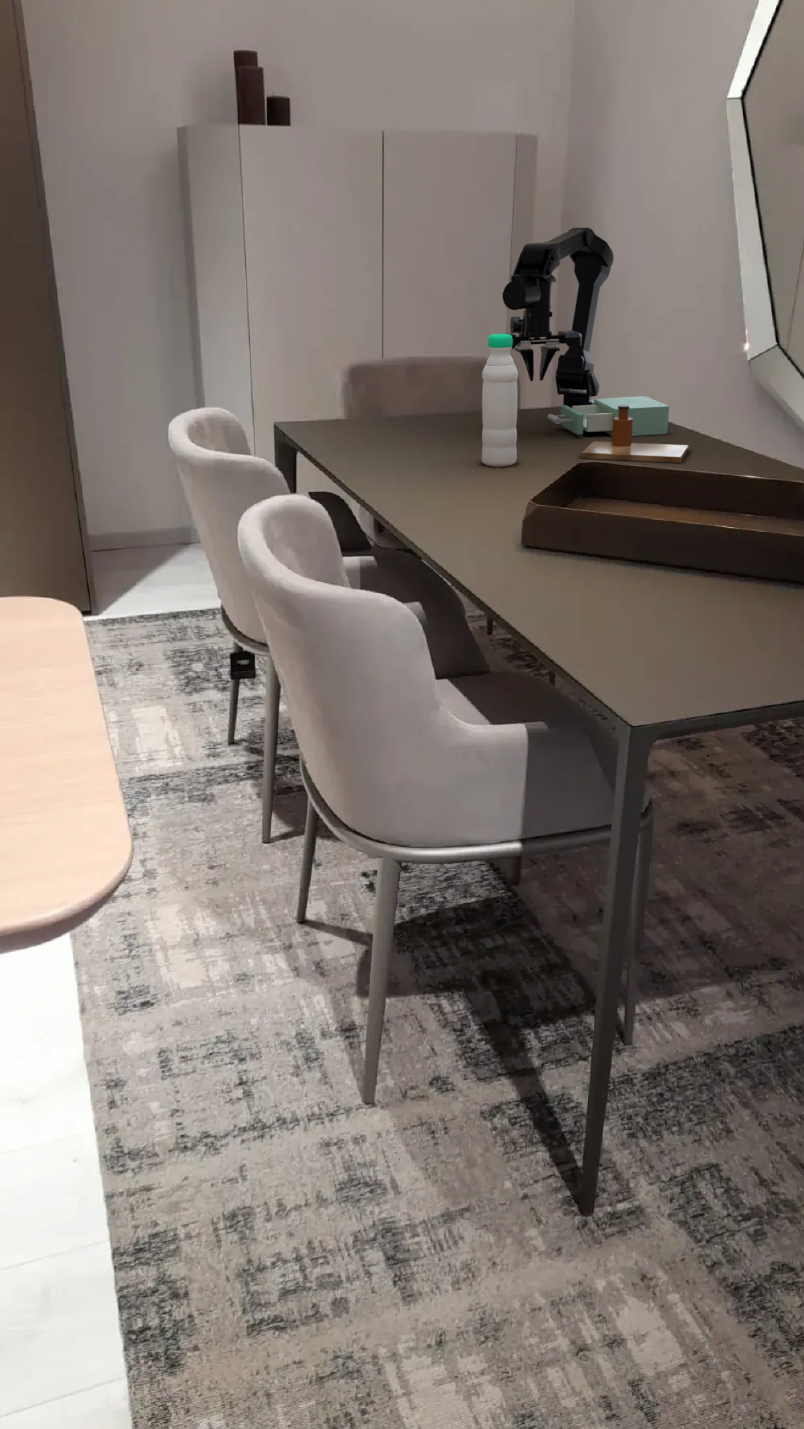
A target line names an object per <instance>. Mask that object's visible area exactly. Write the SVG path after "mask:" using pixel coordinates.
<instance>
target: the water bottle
mask: <svg viewBox="0 0 804 1429" xmlns="http://www.w3.org/2000/svg"><path fill="white" fill-rule="evenodd" d="M512 343H513V339H512V336H511V335H509V334H506V333H494V334H490V335H489V336H488V339H487V345H488V350H489V352H490V353H489V356H488V358H487V359H486V364H485V365H484V368H483V370H482V372H481V373H482V374H481V378H482V394H481V417H482V431H481V442H482V450H481V462H482V463H483V465H485V466H488V467H492V468H493V467H494V468H500V467H501V468H502V467H510V466H513V465H514V464H515V463H517V460H518V459H517V458H518V455H517V454H518V452H517V440H518V431H517V421H518V378H519V371H518V368H517V366H516V364H515V361H514V358H513V357H512V355H511V350H513V349H512Z"/></svg>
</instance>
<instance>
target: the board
mask: <svg viewBox="0 0 804 1429" xmlns="http://www.w3.org/2000/svg"><path fill="white" fill-rule="evenodd" d="M688 452H689V445H687V444H666V443H665V444H663V443H646V442H645V443H644V442H641V443H640V442H631V445H630V446H625V447H619V446H613V445H612V441H599V440H598V441H597V440H596V441H595V440H594V441H592V442H591V443H590V444H589V445H588V446H587V447H586V448H585V449H584V450H583V451H582V452H581V459H589V460H591V459H592V460H610V461H612V460H613V461H630V462H631V461H632V462H633V461H634V462H652V463H653V462H654V463H669V464H670V463H671V464H672V463H673V464H680V463H682V461H683V460H684V458H685V457H686V455H687V453H688Z"/></svg>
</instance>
